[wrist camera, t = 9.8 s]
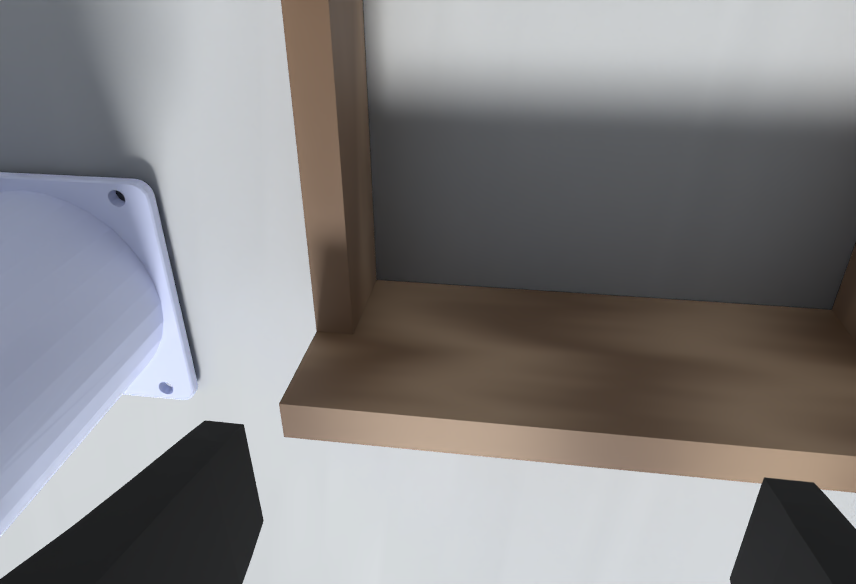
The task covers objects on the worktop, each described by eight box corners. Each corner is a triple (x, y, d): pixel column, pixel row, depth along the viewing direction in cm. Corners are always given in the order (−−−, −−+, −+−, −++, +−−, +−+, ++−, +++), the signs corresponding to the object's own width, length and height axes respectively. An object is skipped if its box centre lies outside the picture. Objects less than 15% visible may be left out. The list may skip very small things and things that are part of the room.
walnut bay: (346, 306, 21) (284, 437, 15) (318, -55, 16) (211, -37, 10) (858, 342, 19) (980, 505, 14) (1013, -53, 14) (1300, -32, 9)
